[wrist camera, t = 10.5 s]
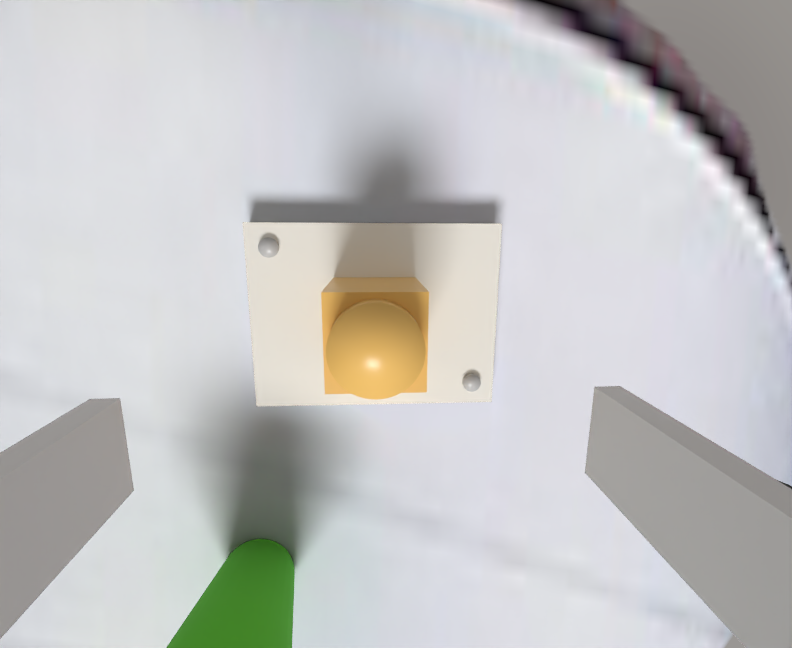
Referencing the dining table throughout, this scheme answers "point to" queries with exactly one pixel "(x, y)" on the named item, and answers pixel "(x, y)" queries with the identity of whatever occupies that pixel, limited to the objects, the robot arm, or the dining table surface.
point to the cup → (244, 602)
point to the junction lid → (371, 257)
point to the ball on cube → (375, 336)
